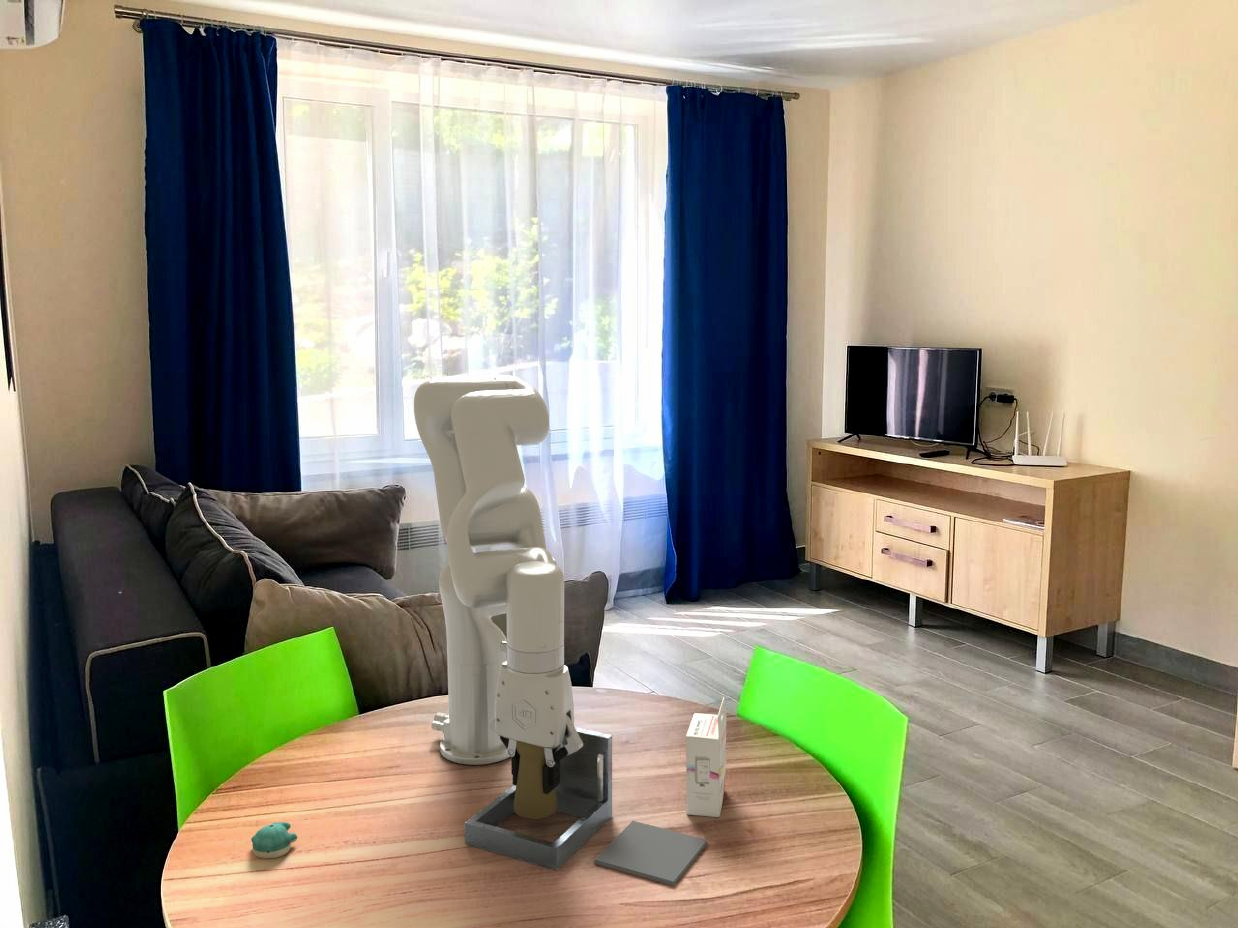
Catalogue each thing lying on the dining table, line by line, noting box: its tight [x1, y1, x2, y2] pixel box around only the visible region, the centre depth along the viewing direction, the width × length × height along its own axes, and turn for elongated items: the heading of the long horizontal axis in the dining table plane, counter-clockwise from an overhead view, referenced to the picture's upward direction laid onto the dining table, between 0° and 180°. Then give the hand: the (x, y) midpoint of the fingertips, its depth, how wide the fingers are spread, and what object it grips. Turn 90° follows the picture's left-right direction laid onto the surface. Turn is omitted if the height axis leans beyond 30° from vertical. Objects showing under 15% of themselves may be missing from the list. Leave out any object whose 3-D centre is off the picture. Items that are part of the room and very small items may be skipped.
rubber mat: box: [594, 820, 708, 887], centre depth 130 cm, size 11×11×1 cm
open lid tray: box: [464, 726, 613, 871], centre depth 135 cm, size 14×15×12 cm
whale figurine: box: [250, 821, 298, 859], centre depth 132 cm, size 6×7×4 cm
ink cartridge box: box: [685, 696, 727, 818], centre depth 143 cm, size 9×5×15 cm, turn 168°
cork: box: [513, 741, 558, 820], centre depth 135 cm, size 6×6×11 cm
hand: (535, 783), depth 135 cm, fingers closed on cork, 4 cm apart
